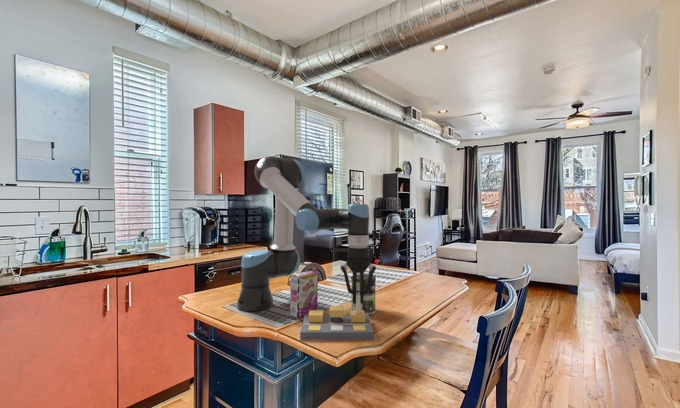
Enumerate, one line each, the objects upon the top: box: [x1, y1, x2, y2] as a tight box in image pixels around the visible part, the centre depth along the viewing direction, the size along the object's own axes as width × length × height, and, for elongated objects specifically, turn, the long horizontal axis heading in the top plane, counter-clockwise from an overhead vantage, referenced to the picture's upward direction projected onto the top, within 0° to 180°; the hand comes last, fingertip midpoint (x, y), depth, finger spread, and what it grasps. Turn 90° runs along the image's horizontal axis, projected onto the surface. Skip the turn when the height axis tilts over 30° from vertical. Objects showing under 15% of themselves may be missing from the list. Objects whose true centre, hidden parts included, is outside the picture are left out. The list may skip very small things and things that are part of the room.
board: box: [299, 314, 375, 341], centre depth 111 cm, size 24×16×3 cm, turn 91°
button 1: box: [308, 309, 324, 322], centre depth 114 cm, size 5×5×5 cm
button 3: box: [349, 309, 365, 322], centre depth 114 cm, size 5×5×5 cm
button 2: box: [329, 305, 345, 322], centre depth 114 cm, size 5×5×5 cm
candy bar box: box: [289, 270, 319, 319], centre depth 127 cm, size 11×5×16 cm, turn 141°
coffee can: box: [350, 273, 377, 316], centre depth 131 cm, size 10×10×14 cm
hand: (357, 312), depth 114 cm, fingers closed
